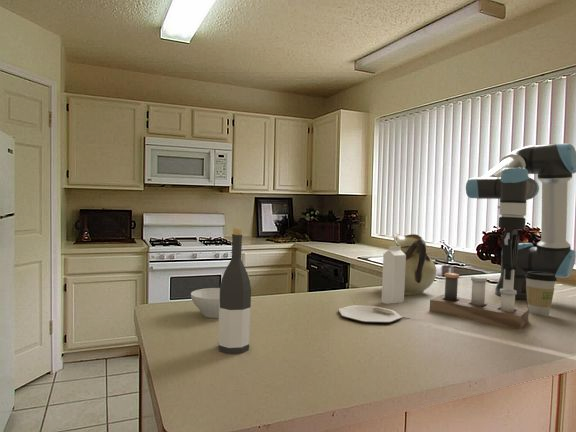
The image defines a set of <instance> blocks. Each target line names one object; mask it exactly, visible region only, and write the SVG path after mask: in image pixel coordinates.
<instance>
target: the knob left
mask: <svg viewBox="0 0 576 432" xmlns="http://www.w3.org/2000/svg"><path fill="white" fill-rule="evenodd" d="M500 293H501V296H500V303H499V304H500V310H503V311H508V312H514V307H516V306H515V304H516V303H515V302H516V298H515V295H516V294H517V291H516V290H506V289H500Z"/></svg>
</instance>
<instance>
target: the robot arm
mask: <svg viewBox="0 0 576 432" xmlns="http://www.w3.org/2000/svg"><path fill="white" fill-rule="evenodd" d="M573 174H576V148H575V147H574V145H573V144H571V143H552V144H550V143H549V144H541V145H540V144H539V145H527V146H523V147H521V148H517V149H515V150H513V151H511V152H510V153H508V154H506V155H504V157H502V158H501V160H500V163H498V164H496V166H494V167H493V168H491V169H490V170H489V171H487V172H486V173H485V174H484V175H482V176H481V177H471V178H468V179H467V181H466V184H465V194H466V195H467V197H468V198H470V199H477V200H478V199H479V200H483V199H484V200H485V199H489V200H492V199H493V200H496V199H497V200H499V205H497V209H499V210H498V211H499V215H500V216H499V217H498V228H499V229H504V233H503V234H502V238H501V246H502V247H501V249H502V250H501V254H500V256H501V259H500V260H501V262H500V276H499V279H498V282H497V284H496V287H495V291H494V293H495V295H498V296H499V297H501V293H500V289H506V290H516V291H517V294H516V295H515V300H516V299H517V300H527V292H526V278H525V275H526V274H527V272H528V271H536V272H546V273H552V274H555V278H561V279H563V278H564V279H566V278H568V277H570V276H571V273H572V272H573V269H574V266H575V261H576V251H575V250H574V249H571V248H572V247H571V243H569V242H568V241H567V213H568V183H569V181H570V180H571V179H572V178H573ZM529 175H537V179H538V180H539V181H540V183H541V223H540V224H541V231H540V232H541V234H540V236H541V238H540V241H538V242H537V243H536V246H534V244H533V243H532V242H520V241H521V240H520V235H519V233H518V230H525V229H526V218H525V217H526V216H527V200H532V199H534V198H535V197H536V196H537V195H538V193H539V190H540V185H539V183H538V182H537V180H535V179H533V178H531V177H530V176H529Z"/></svg>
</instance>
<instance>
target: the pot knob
mask: <svg viewBox="0 0 576 432" xmlns="http://www.w3.org/2000/svg"><path fill="white" fill-rule="evenodd" d="M444 277H445V282H444V295H445V300H449V301H457V297H458V285H459V284H458V283H459V278H460V274H459V273H454V272H445V273H444Z"/></svg>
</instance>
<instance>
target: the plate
mask: <svg viewBox="0 0 576 432" xmlns="http://www.w3.org/2000/svg"><path fill="white" fill-rule="evenodd" d="M375 309H381V310H385V311H390V312H392V313H393V314H392V313H388V312H384V311H380V310H375ZM337 311H338V312H339V313H340V316H341V317H342V318H345V319H349V320H353V321H355V322H356V321H357V322H360V323H365V324H366V323H371V324H372V323H373V324H375V323H376V324H389V323H390V324H391V323H393V322H396V321H398V320H401V319H402V315H400V314H399V312H397V311H395V310H394V309H389V308H385V307H380V306H377V305H358V304H357V305H356V304H354V305H348V306H345V307H340V308H338V310H337Z"/></svg>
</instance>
